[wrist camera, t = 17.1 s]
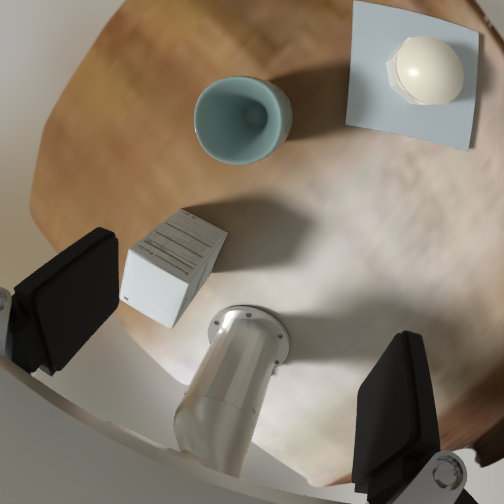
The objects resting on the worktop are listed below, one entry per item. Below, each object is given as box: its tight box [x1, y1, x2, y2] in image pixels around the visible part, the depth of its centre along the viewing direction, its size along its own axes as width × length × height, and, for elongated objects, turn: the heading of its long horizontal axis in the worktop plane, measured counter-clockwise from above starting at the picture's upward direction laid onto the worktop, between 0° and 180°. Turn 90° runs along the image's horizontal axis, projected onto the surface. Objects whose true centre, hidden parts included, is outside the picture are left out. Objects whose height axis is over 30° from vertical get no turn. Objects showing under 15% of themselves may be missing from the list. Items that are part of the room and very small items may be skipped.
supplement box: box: [119, 209, 228, 329], centre depth 38 cm, size 7×7×13 cm
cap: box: [386, 36, 464, 105], centre depth 23 cm, size 6×6×6 cm
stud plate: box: [345, 1, 479, 152], centre depth 25 cm, size 14×14×6 cm
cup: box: [194, 76, 293, 165], centre depth 29 cm, size 8×8×10 cm
